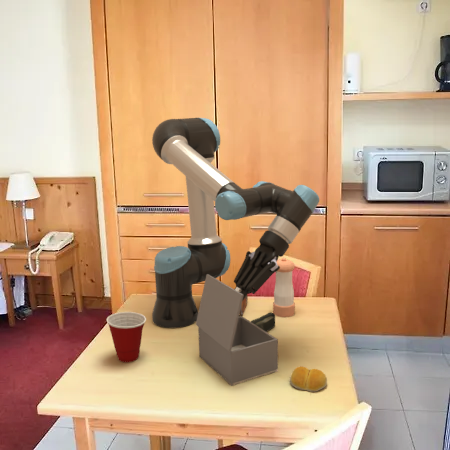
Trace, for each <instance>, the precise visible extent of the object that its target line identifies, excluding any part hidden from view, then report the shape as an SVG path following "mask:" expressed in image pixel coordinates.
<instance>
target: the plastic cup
mask: <svg viewBox="0 0 450 450" xmlns="http://www.w3.org/2000/svg"><path fill="white" fill-rule="evenodd" d="M146 321H147V318H146V316H145V315H144V314H142V313H139V312H134V311H119V312H116V313H115V312H114V313H112V314H111V315H108V316H107V318H106V322H107V325H108V327H109V331H110V335H111V337H112V342H113V345H114V346H113V347H114V349H115V353H116V357H117V359H118V361H119V362H121V363H131V362H134V361H137V360H138V359H139V357H140V351H141V346H142V337H143V329H144V326H145V323H146Z"/></svg>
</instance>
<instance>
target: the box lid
mask: <svg viewBox="0 0 450 450" xmlns="http://www.w3.org/2000/svg"><path fill="white" fill-rule="evenodd" d="M234 289H235V288H232V287H231V286H229V285H227V284H225V283H224V282H222V281H220V280H219V279H217V278H214V277H212V276H210V275H209V274H207V275H206V279H205V281H204V284H203V290H202V292H201V293H202V294H201V299H200V303H199V308H198V316H197V321H196V322H195V326H197V328H198V327H199V328H200V329H202V330H203V331H204V332H205V333H207V334H208V335H209V336H210V337H212V338H213V339H214V340H215V341H217V342H218V343H219V344H220V345H222V346H223V347H224V348H225V349H227V350H228V351H231V349H232V345H233V340H234V336H235V331H236V327H237V322H238V318H239V317H240V315H239V313H240V309H241V305H242V300H243V296H244V295H243V294H241V293H240V292H238V291H236V290H234Z"/></svg>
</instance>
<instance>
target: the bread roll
mask: <svg viewBox="0 0 450 450" xmlns="http://www.w3.org/2000/svg"><path fill="white" fill-rule="evenodd" d="M327 383H328V379H327V376H326V373H324V372H323V371H322V370H320V369H318V368H311V369H309V368H307V367H306V366H301V365H300V366H297V367H295V368H294V369H293V370H292V372H291V373H290V376H289V384H290V385H291V386H292V387H294V388H295V389H297V390H301V391H307V392H313V393H314V392H315V393H316V392H319V391H320V390H323V389H325V388H326V386H327V385H328V384H327Z"/></svg>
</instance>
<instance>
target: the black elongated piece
mask: <svg viewBox="0 0 450 450" xmlns="http://www.w3.org/2000/svg"><path fill="white" fill-rule="evenodd" d="M250 322H252V323H253V324H255V325H256V326H258V327H259V328H261V329H262V330H264V331H266V332H267V333H268V332H269V331H270V330H272V329H274V328H275V326H276V315H275V314H274V313H273V311H272V312H271V311H270V312H268V313H266V314H264V315H262V316H260V317H258V318H255V319H252V320H250Z"/></svg>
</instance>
